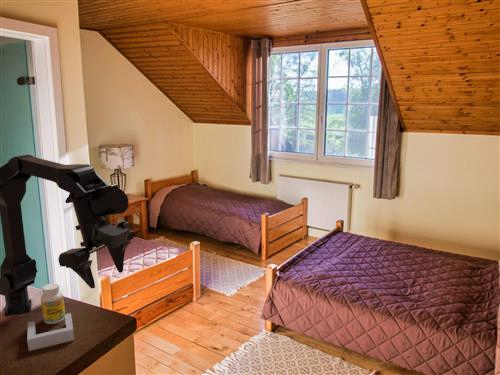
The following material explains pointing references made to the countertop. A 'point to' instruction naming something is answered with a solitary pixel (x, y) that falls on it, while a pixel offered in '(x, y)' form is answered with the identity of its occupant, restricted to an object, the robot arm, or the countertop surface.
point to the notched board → (49, 335)
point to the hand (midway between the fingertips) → (107, 279)
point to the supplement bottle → (52, 304)
